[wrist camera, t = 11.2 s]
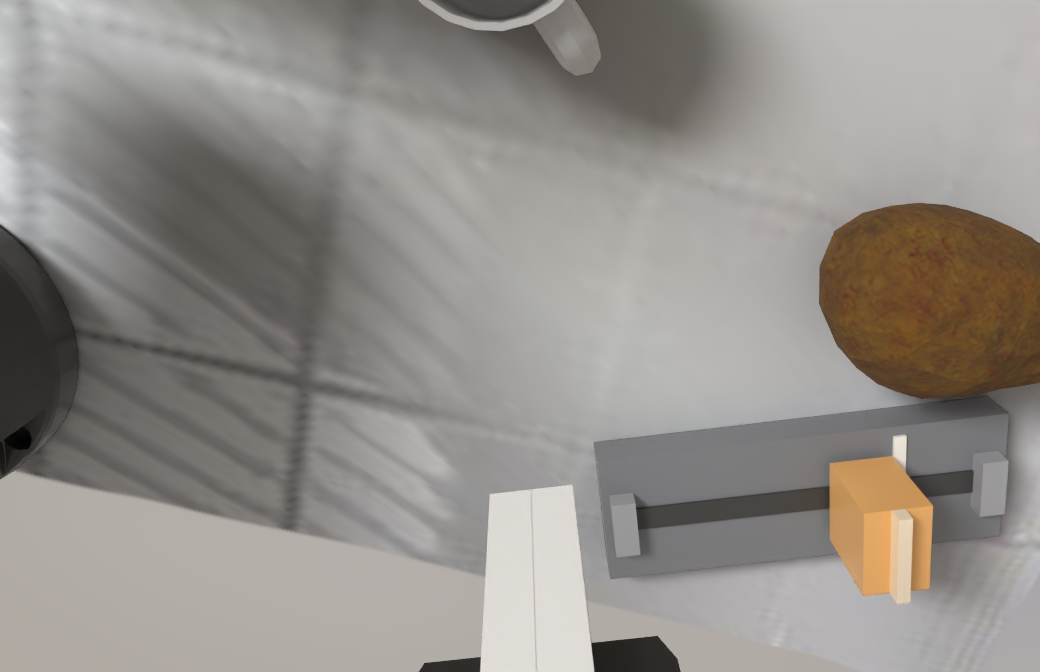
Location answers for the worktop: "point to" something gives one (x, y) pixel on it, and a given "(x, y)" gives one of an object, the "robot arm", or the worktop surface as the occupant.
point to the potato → (934, 300)
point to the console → (791, 483)
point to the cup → (517, 3)
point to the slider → (881, 527)
